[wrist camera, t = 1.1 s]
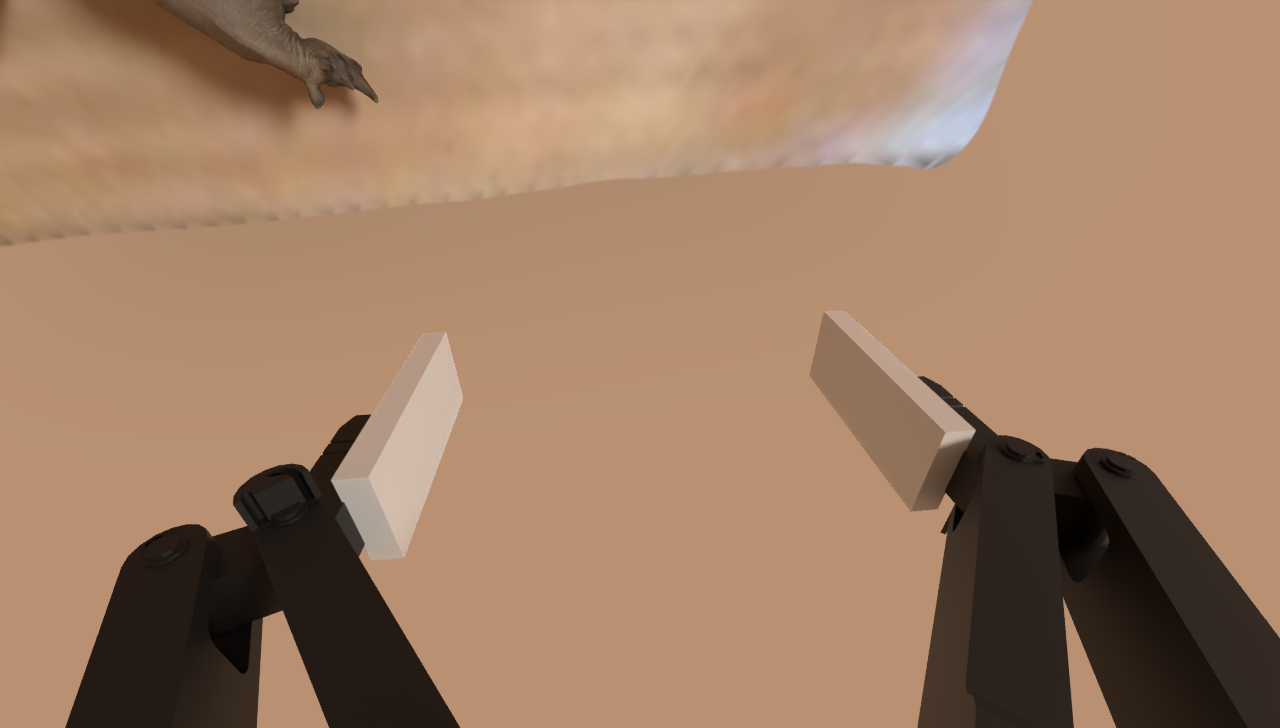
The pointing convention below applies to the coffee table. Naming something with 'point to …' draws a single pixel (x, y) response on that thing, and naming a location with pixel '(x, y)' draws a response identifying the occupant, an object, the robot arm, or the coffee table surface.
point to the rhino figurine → (271, 41)
